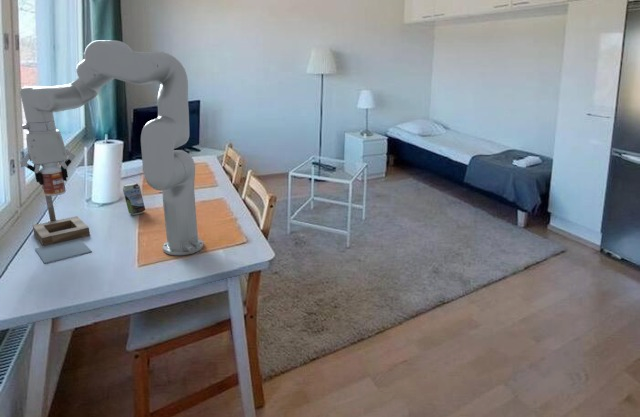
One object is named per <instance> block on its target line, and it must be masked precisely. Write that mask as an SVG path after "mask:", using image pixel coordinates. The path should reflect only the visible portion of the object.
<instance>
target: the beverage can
mask: <svg viewBox="0 0 640 417" xmlns="http://www.w3.org/2000/svg"><path fill="white" fill-rule="evenodd" d="M122 192H123V195H124V200H125V203H126V206H127V210H128V214H131V215H132V216H133V215H134V216H136V215H140V214H143V213H144V212H145V210H146V206H145V203H144V199H143V198H144V197H143V194H142V191H141V187H140V185H139V184H138V182H129V183H127V184H126V183H125V184H124V185H123V188H122Z"/></svg>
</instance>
